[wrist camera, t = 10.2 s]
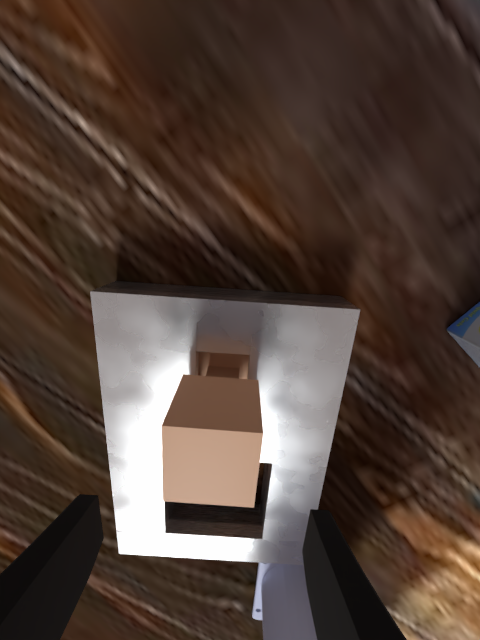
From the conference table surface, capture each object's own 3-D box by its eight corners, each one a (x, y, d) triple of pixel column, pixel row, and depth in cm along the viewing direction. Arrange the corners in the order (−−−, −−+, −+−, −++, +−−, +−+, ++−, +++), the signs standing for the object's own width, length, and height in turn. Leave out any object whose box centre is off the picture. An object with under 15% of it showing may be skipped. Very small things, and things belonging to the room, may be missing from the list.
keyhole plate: (298, 524, 23) (305, 565, 21) (134, 514, 23) (118, 553, 20) (341, 296, 17) (360, 309, 14) (116, 280, 17) (90, 291, 14)
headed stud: (256, 406, 20) (264, 516, 12) (187, 400, 20) (151, 508, 12) (263, 342, 18) (277, 423, 11) (188, 336, 18) (148, 413, 11)
